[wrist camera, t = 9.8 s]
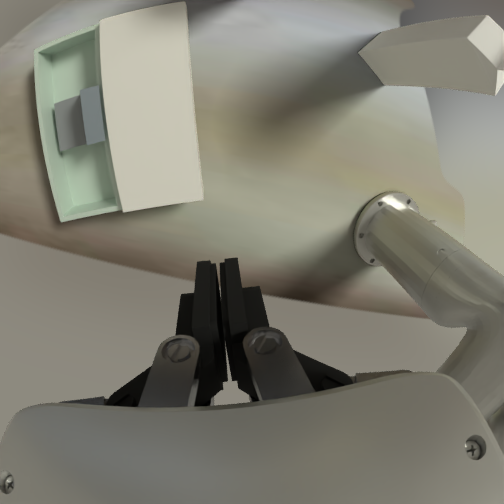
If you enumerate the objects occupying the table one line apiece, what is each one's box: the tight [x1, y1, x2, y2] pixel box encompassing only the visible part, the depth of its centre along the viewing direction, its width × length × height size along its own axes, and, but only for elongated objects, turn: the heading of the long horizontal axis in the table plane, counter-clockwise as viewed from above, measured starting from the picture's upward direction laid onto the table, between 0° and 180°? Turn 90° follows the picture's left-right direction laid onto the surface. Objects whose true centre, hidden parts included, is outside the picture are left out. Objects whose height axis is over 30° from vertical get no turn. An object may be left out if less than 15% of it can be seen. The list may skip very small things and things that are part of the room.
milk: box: [358, 15, 504, 96], centre depth 19 cm, size 6×6×22 cm
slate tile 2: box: [54, 95, 86, 151], centre depth 26 cm, size 4×6×2 cm, turn 3°
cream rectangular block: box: [100, 1, 203, 212], centre depth 26 cm, size 9×22×5 cm, turn 4°
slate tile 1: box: [79, 85, 105, 145], centre depth 24 cm, size 4×6×2 cm
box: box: [34, 23, 123, 222], centre depth 26 cm, size 9×22×4 cm, turn 4°
